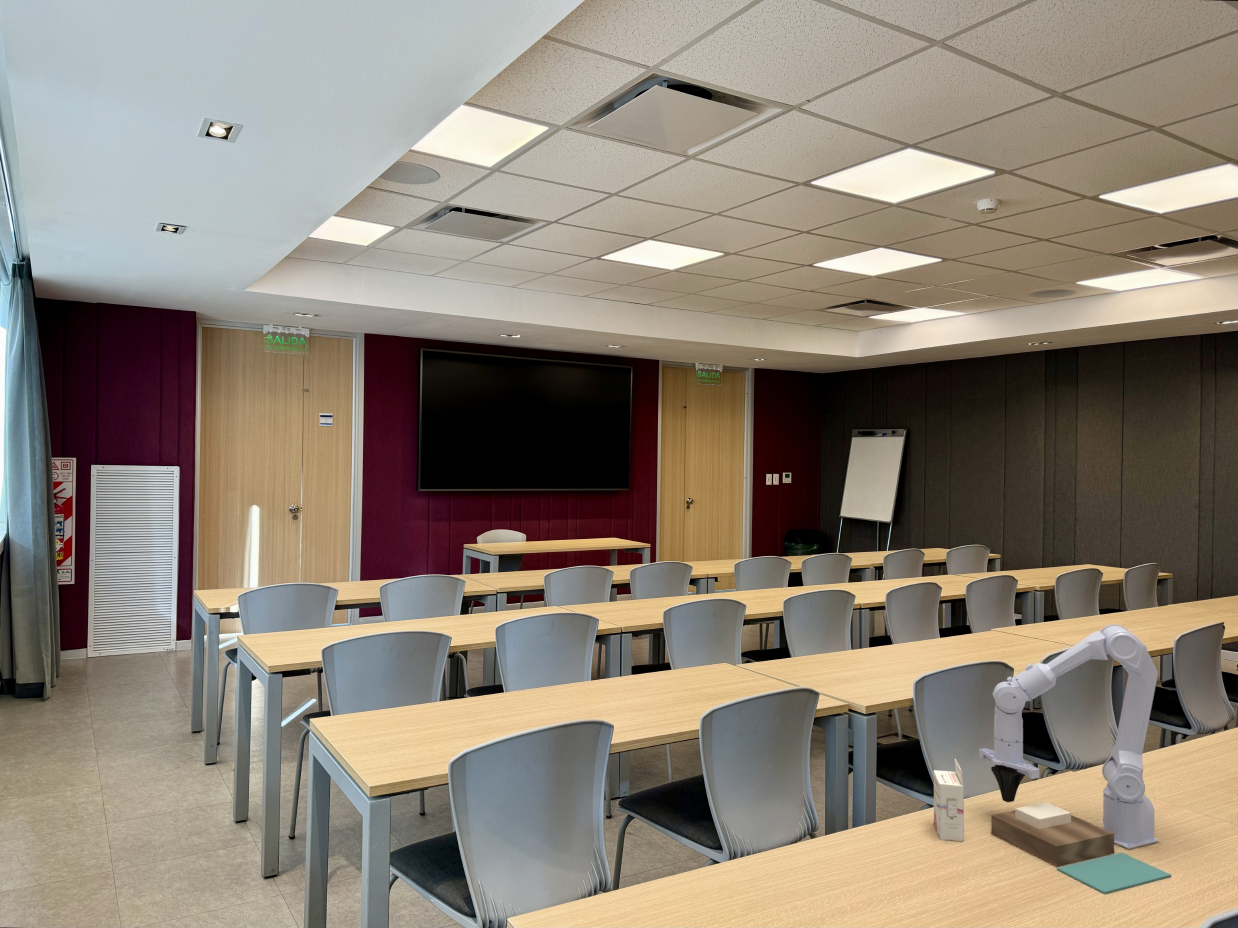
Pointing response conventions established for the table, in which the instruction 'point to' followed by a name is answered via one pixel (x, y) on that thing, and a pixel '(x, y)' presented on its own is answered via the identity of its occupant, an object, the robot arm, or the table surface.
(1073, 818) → the stand
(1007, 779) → the robot arm
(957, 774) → the ink cartridge box
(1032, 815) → the tile
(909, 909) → the table surface
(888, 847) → the table surface
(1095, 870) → the mat
